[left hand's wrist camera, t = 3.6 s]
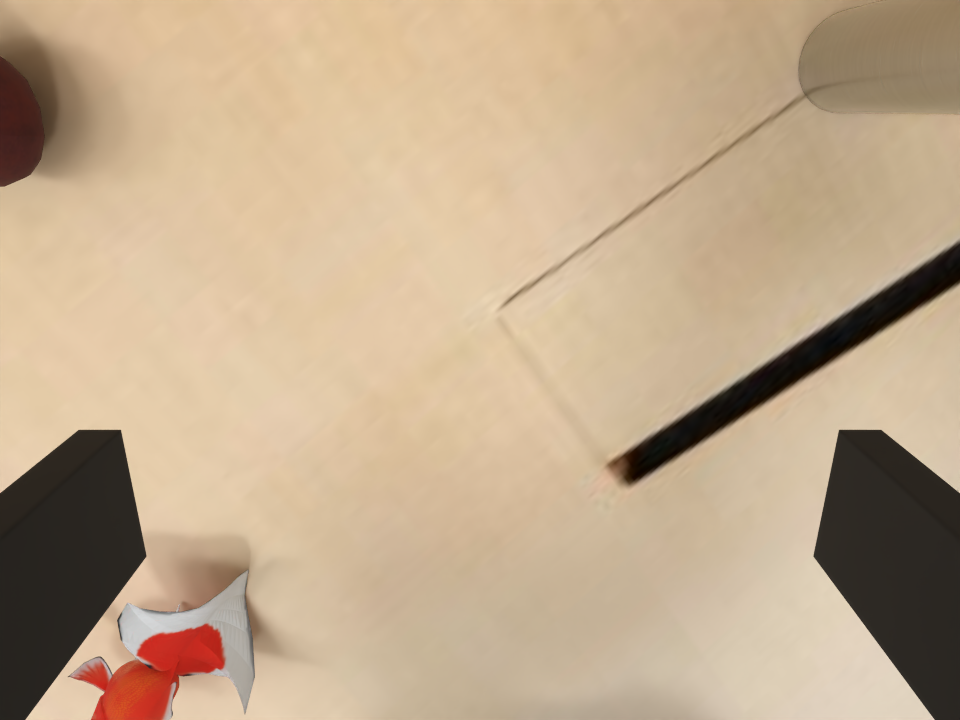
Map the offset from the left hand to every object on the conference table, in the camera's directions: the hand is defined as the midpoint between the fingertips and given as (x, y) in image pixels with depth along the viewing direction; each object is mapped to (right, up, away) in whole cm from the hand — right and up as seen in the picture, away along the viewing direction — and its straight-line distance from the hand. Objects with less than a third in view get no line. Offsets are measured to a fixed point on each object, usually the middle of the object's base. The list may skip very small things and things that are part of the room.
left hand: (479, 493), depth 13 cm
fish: (-22, -17, +39) cm, 47 cm away
